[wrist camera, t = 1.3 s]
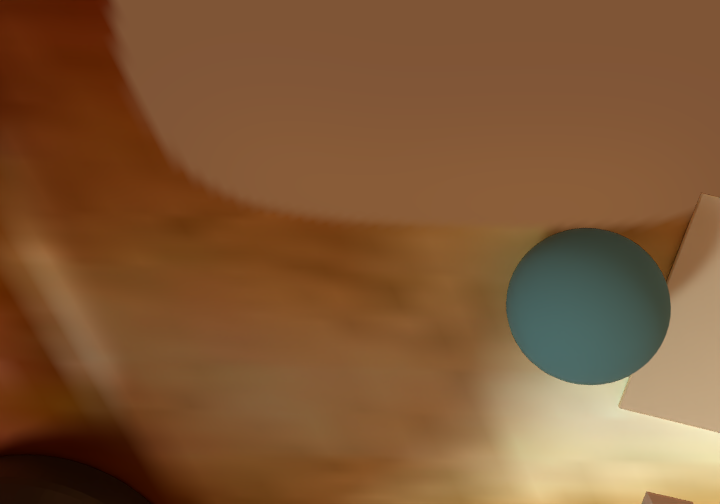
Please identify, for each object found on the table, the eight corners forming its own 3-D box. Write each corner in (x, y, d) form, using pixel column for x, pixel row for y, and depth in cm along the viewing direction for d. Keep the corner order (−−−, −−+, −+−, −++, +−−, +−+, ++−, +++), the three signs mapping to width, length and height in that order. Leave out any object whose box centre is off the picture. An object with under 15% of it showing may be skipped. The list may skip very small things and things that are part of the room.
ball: (611, 360, 30) (661, 431, 24) (479, 328, 30) (498, 391, 24) (660, 232, 29) (725, 276, 23) (520, 197, 29) (551, 232, 23)
